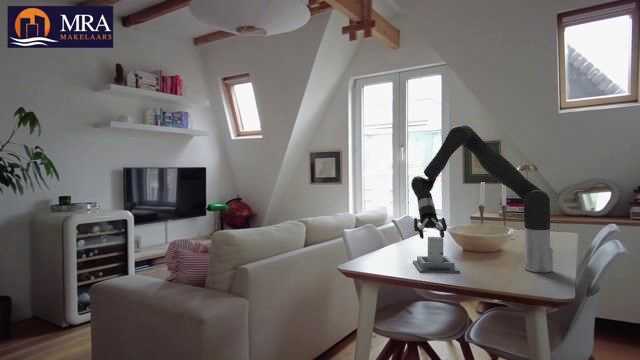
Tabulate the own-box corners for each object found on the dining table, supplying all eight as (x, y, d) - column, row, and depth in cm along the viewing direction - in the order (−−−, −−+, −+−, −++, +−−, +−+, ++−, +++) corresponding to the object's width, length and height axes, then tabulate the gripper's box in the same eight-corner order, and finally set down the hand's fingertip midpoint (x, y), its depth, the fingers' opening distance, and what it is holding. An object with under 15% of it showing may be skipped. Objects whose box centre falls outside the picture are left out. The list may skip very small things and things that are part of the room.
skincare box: (429, 266, 160) (429, 238, 160) (427, 263, 165) (427, 236, 164) (444, 266, 160) (443, 238, 159) (441, 264, 164) (441, 236, 164)
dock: (448, 262, 170) (448, 255, 170) (460, 273, 152) (459, 264, 152) (412, 262, 172) (412, 255, 172) (420, 272, 154) (419, 264, 154)
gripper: (412, 204, 175) (417, 233, 164) (443, 204, 174) (450, 232, 163) (410, 214, 181) (415, 242, 169) (440, 214, 180) (447, 242, 168)
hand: (432, 237), depth 166 cm, fingers open, 8 cm apart
